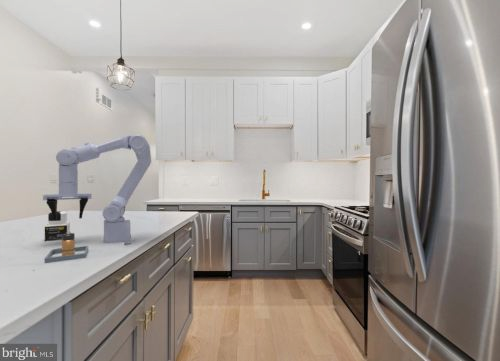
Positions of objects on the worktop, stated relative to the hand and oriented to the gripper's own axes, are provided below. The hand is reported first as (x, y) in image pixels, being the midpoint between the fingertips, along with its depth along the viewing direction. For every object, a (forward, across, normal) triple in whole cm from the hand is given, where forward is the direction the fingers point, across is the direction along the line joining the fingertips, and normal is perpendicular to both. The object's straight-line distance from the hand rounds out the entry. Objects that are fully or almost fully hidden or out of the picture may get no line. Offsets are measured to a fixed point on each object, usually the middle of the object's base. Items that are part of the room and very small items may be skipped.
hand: (68, 218), depth 93 cm
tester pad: (+10, +2, +8) cm, 13 cm away
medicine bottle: (+11, +5, -12) cm, 17 cm away
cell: (+10, -2, +18) cm, 21 cm away
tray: (+10, -2, +18) cm, 21 cm away
